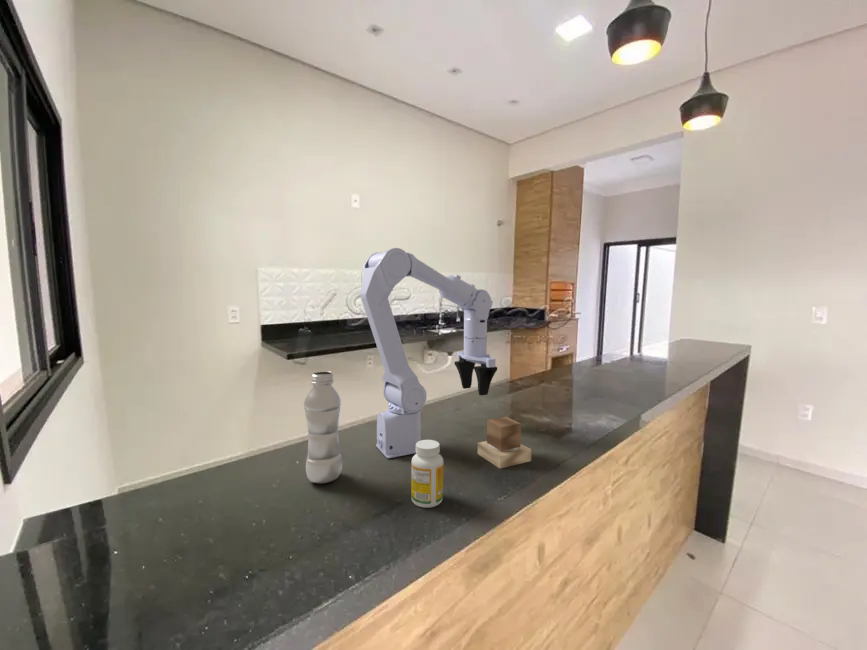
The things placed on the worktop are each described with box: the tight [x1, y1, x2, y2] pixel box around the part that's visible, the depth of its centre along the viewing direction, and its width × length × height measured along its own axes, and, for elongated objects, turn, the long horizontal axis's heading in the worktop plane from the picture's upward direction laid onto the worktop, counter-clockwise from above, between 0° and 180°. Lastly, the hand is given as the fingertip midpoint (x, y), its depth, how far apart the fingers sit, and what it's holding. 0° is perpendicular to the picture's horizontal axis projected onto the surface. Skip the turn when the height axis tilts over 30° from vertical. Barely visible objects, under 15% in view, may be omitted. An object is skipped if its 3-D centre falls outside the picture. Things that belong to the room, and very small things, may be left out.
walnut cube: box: [486, 416, 522, 451], centre depth 80 cm, size 5×5×5 cm
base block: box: [477, 440, 532, 469], centre depth 80 cm, size 8×8×3 cm
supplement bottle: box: [410, 439, 444, 509], centre depth 63 cm, size 5×5×10 cm
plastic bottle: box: [303, 370, 343, 484], centre depth 70 cm, size 6×7×20 cm
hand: (474, 391), depth 95 cm, fingers open, 7 cm apart
